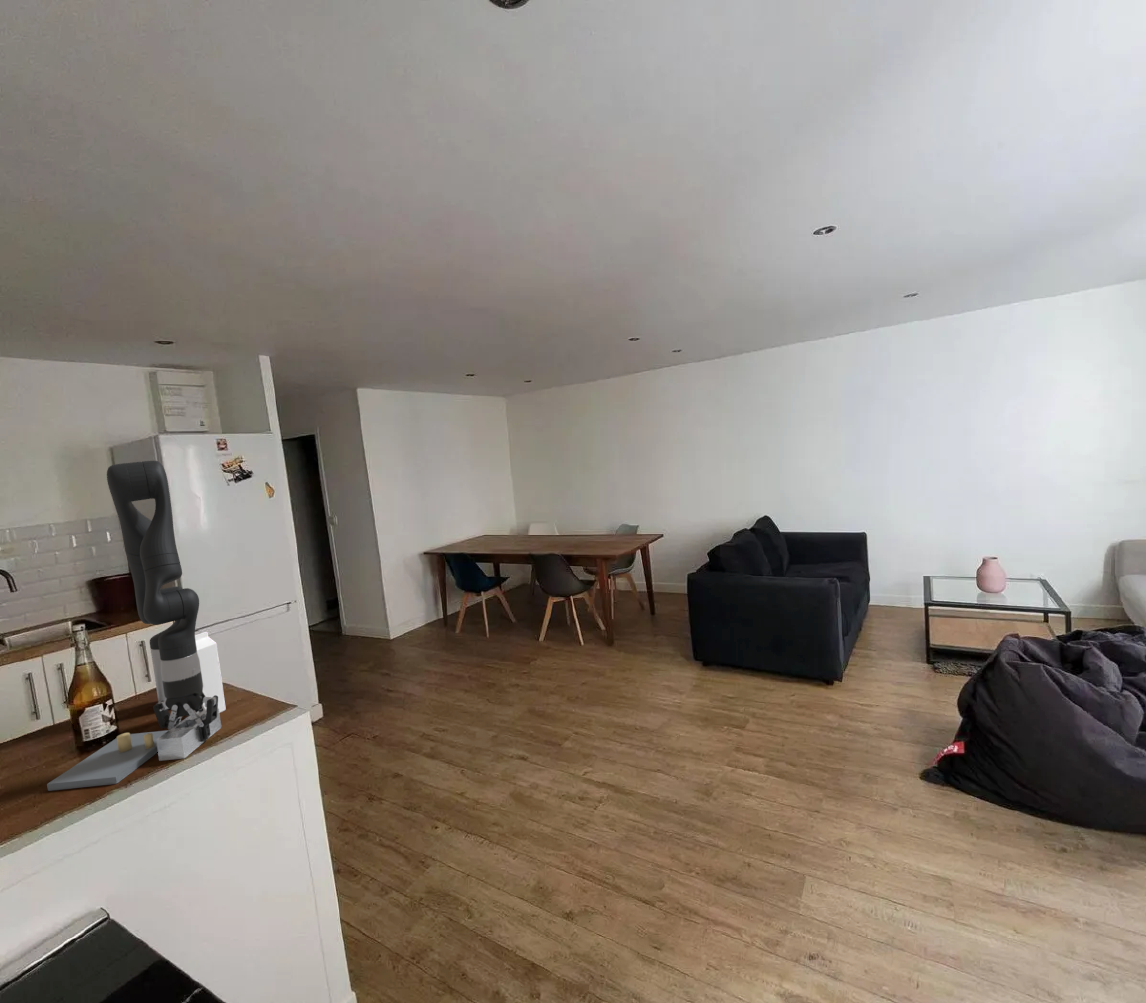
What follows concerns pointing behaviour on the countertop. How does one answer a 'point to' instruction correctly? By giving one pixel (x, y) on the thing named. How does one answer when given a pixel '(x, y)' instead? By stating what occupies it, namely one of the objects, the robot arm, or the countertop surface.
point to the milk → (210, 668)
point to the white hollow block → (183, 738)
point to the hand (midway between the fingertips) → (191, 741)
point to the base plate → (110, 762)
